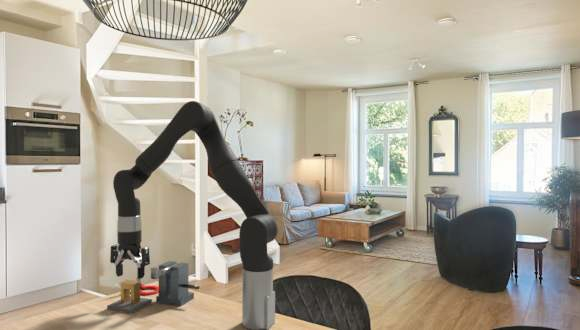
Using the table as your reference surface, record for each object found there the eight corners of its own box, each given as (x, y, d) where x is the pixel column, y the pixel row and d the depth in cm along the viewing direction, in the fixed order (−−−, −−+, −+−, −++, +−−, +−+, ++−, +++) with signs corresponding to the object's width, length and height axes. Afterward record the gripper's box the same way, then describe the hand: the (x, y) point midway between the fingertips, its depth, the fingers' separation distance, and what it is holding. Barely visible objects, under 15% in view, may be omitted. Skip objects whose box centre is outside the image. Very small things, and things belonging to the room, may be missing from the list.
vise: (206, 300, 144) (206, 259, 144) (179, 317, 129) (179, 271, 129) (170, 294, 149) (170, 255, 149) (140, 310, 134) (140, 266, 134)
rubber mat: (151, 302, 141) (151, 299, 141) (131, 313, 131) (131, 309, 131) (128, 299, 144) (128, 295, 144) (107, 309, 135) (107, 305, 135)
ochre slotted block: (139, 302, 138) (139, 281, 138) (133, 305, 135) (133, 284, 135) (127, 300, 140) (127, 279, 140) (120, 303, 137) (120, 282, 137)
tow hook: (164, 290, 156) (142, 287, 157) (166, 256, 155) (143, 254, 157) (153, 297, 147) (129, 294, 149) (154, 262, 147) (131, 259, 148)
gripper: (154, 228, 138) (154, 275, 138) (120, 226, 143) (120, 272, 143) (139, 232, 131) (140, 282, 131) (104, 229, 136) (104, 278, 136)
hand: (130, 276), depth 137 cm, fingers open, 8 cm apart
